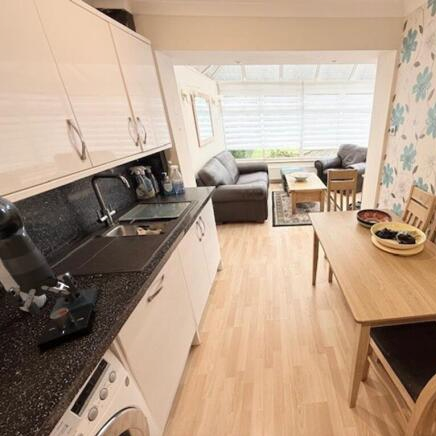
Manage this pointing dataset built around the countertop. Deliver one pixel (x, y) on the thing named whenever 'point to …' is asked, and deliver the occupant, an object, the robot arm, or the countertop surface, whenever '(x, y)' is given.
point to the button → (74, 293)
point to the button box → (78, 301)
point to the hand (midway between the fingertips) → (56, 307)
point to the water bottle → (5, 278)
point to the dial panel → (67, 330)
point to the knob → (62, 318)
